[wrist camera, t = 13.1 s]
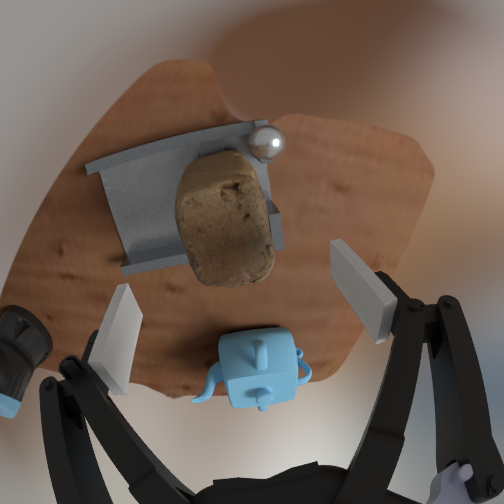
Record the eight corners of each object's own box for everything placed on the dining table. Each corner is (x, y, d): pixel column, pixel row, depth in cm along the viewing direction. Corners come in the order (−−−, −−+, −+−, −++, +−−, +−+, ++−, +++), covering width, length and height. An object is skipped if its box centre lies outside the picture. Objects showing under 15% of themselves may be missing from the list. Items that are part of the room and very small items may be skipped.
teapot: (259, 299, 48) (273, 356, 36) (309, 340, 55) (329, 391, 43) (190, 351, 52) (189, 406, 40) (245, 382, 59) (253, 431, 47)
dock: (130, 261, 41) (113, 298, 32) (97, 159, 33) (65, 173, 24) (283, 230, 42) (302, 261, 33) (268, 118, 34) (287, 118, 25)
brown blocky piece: (186, 155, 35) (159, 194, 17) (241, 143, 35) (271, 169, 17) (204, 227, 40) (201, 319, 22) (255, 216, 40) (289, 300, 23)
